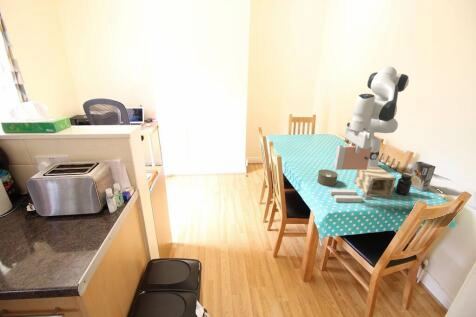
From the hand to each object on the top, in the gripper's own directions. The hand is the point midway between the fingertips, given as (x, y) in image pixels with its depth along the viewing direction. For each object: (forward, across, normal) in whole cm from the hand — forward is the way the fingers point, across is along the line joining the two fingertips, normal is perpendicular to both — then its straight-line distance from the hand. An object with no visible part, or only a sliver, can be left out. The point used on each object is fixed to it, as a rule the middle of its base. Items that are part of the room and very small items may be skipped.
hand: (354, 151), depth 123 cm
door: (+10, 0, 0) cm, 10 cm away
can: (+29, +19, +4) cm, 35 cm away
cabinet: (+29, +8, -20) cm, 36 cm away
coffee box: (+29, +14, -53) cm, 62 cm away
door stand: (+28, 0, 0) cm, 28 cm away
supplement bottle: (+29, +6, -37) cm, 48 cm away
